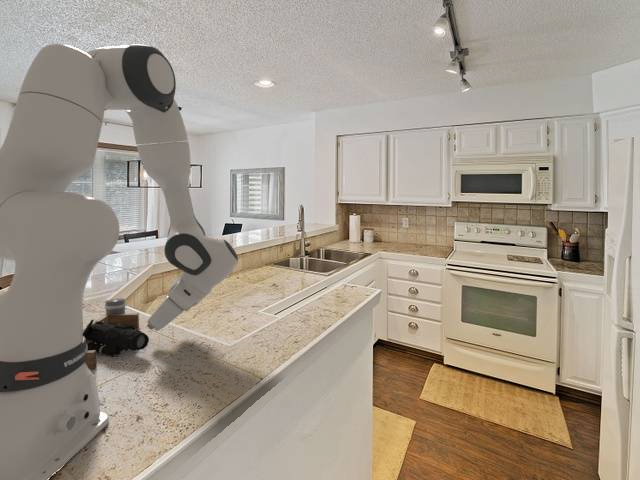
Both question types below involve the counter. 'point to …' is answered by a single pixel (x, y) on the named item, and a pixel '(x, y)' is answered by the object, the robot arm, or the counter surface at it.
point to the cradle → (113, 320)
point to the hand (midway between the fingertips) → (150, 325)
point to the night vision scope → (114, 338)
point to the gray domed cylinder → (115, 306)
